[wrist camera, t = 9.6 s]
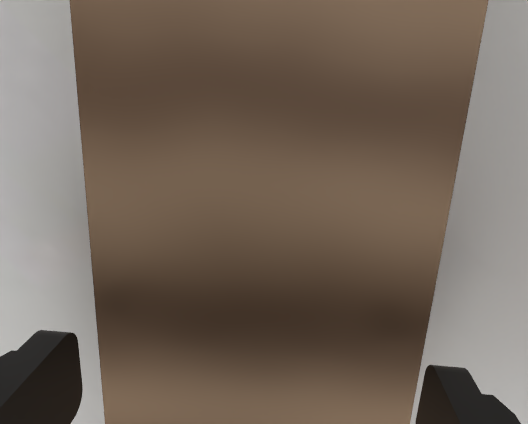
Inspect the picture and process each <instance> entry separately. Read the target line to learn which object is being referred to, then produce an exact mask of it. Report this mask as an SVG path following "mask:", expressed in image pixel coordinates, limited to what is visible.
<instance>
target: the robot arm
mask: <svg viewBox="0 0 528 424" xmlns="http://www.w3.org/2000/svg"><path fill="white" fill-rule="evenodd" d="M81 398H82V378H81V368H80V358H79V348H78V340H77V337H76V335H75V334H74V333H68V332H57V331H45V330H40V331H38V332H36V333H35V334H34V335H33V336H32V337H31V338H30V339H29V340H28V341H26V342H25V343H24V344H23V345H22V346H21V347H20V348H19V349H18V350H17V351H10V352H8V353H6V354H5V355H3V356H1V357H0V424H70V423H71V422H72V420H73V419H74V417H75V416H76V413H77V411H78V409H79V406H80V403H81ZM416 424H521V423H520V422H519V420H518V419H517V417H516V415H515V414H514V413H513V412H511V411H510V410H509V409H508V408H507V407H506V406H505V405H504V404H502V403H501V402H500V401H499V400H498V399H497V398H496V397H494V396H493V395H485V394H481V392H480V390H479V389H478V387H477V385H476V383H475V382H474V380H473V378H472V376H471V375H470V373H469V372H468V370H467V369H465V368H458V367H447V366H436V365H429V366H428V367H427V369H426V371H425V376H424V381H423V386H422V391H421V397H420V402H419V407H418V412H417V418H416Z"/></svg>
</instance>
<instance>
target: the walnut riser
mask: <svg viewBox="0 0 528 424" xmlns="http://www.w3.org/2000/svg"><path fill="white" fill-rule="evenodd" d="M487 5H488V0H70V10H71V22H72V34H73V46H74V58H75V69H76V81H77V93H78V105H79V117H80V129H81V141H82V153H83V165H84V177H85V189H86V201H87V213H88V225H89V237H90V248H91V260H92V272H93V284H94V296H95V308H96V320H97V332H98V344H99V356H100V368H101V380H102V392H103V404H104V416H105V424H410V419H411V413H412V408H413V403H414V397H415V392H416V387H417V381H418V376H419V371H420V365H421V360H422V354H423V349H424V344H425V338H426V333H427V328H428V322H429V317H430V311H431V306H432V301H433V295H434V290H435V285H436V279H437V274H438V268H439V263H440V258H441V252H442V247H443V242H444V236H445V231H446V225H447V220H448V215H449V209H450V204H451V199H452V193H453V188H454V183H455V177H456V172H457V166H458V161H459V156H460V150H461V145H462V140H463V134H464V129H465V123H466V118H467V113H468V107H469V102H470V97H471V91H472V86H473V80H474V75H475V70H476V64H477V59H478V54H479V48H480V43H481V37H482V32H483V27H484V21H485V16H486V11H487Z"/></svg>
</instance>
